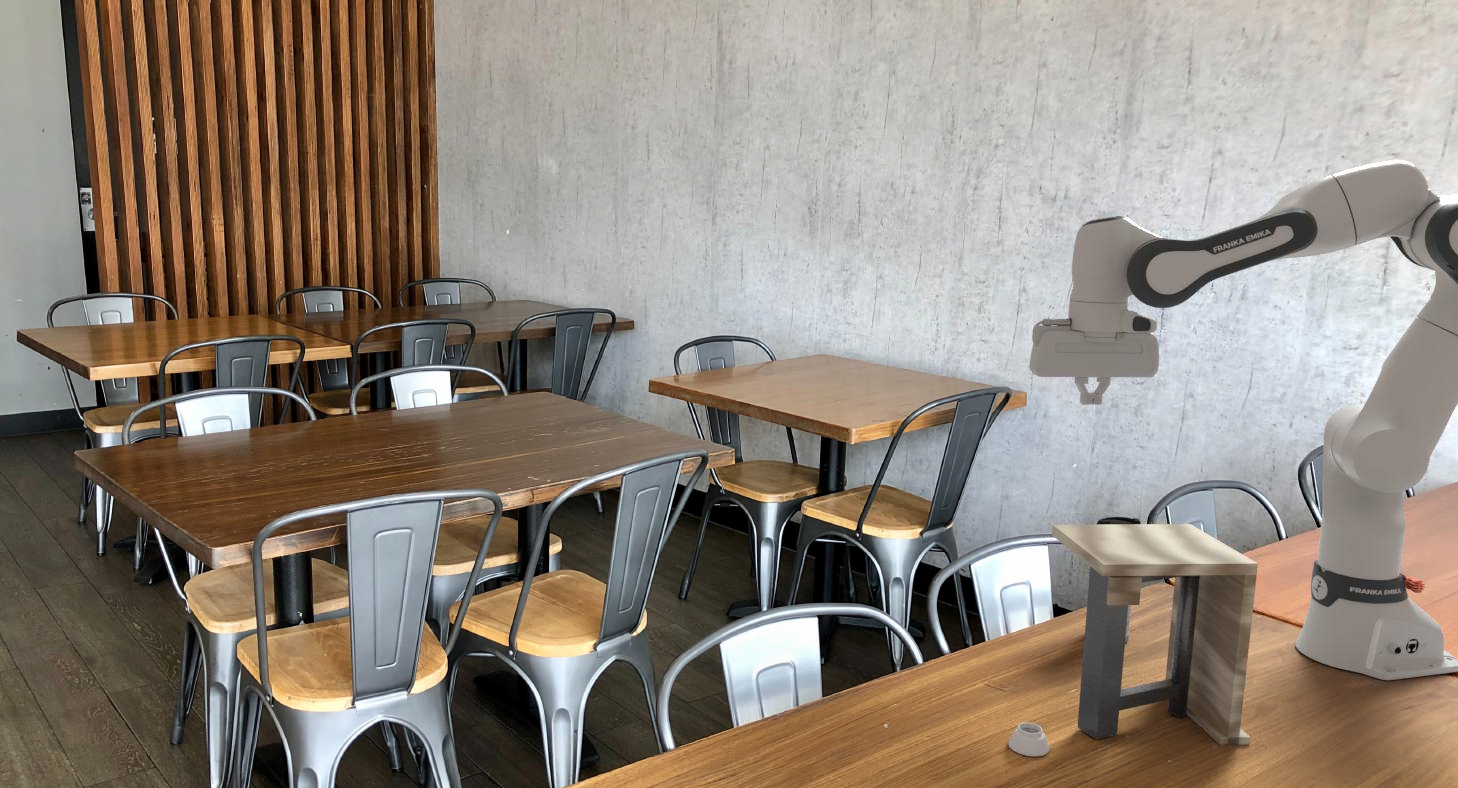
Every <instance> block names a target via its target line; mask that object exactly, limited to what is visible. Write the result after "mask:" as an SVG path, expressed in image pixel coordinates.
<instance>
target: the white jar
mask: <svg viewBox="0 0 1458 788" xmlns="http://www.w3.org/2000/svg"><path fill="white" fill-rule="evenodd" d="M1008 748H1010V749H1011V750H1012V751H1014V752H1016V753H1018V754H1020V755H1023V756H1026V757H1042V756H1045V755H1047V754H1048V753H1049V751H1050V749H1051V747H1050V743H1049V741H1048V739H1047V737H1046V734H1045V733H1044V731H1043V728H1042V727H1041V726H1040V725H1039V724H1037V723H1034V722H1026V721H1025V722H1021V723H1019V724H1018V725H1017V727H1016V728H1015V730H1014V731H1013V733H1012V734H1011V736H1010V737H1009V739H1008Z"/></svg>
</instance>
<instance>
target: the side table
mask: <svg viewBox="0 0 1458 788" xmlns="http://www.w3.org/2000/svg"><path fill="white" fill-rule="evenodd" d="M1051 528H1052V529H1051V536H1052V537H1054V538H1055V539H1056V540H1057V541H1058V542H1060V543H1061V544H1062V545H1064V546H1065V547H1066V548H1067V549H1069V550H1070V551H1071V552H1072V553H1073V554H1075V556H1077V557H1078V558H1080V560H1082V561H1083V562H1084V563H1086V564H1087V566H1089V567H1090V566H1091V567H1092V568H1093V569H1094V570H1096V571H1097V572H1098V573H1099V574H1101V575H1102V576H1109V579H1108V591H1107V603H1106V604H1107V605H1131V606H1140V602H1141V593H1142V592H1141V590H1142V583H1141V581H1142V577H1140V576H1184V575H1200V581H1199V591H1198V601H1197V611H1196V621H1195V632H1194V642H1193V652H1192V662H1191V673H1190V683H1189V693H1188V703H1187V714H1186V716H1188V717H1190V719H1191V720H1193V721H1194V723H1196V724H1197V725H1198V726H1199V727H1200V728H1201V727H1202V728H1203V729H1204V730H1203V731H1204V732H1206V733H1207V734H1208V733H1209V734H1208V735H1209V736H1210V738H1212V739H1213V740H1214V741H1215V742H1216V743H1217V744H1218V745H1220V746H1226V744H1227V746H1237V745H1238V746H1239V745H1240V746H1241V745H1250V744H1251V743H1250V742H1251V736H1249V734H1248V733H1246V732H1245V730H1244V729H1242V728H1241V724H1242V717H1243V716H1242V715H1243V705H1244V696H1245V687H1246V678H1247V677H1246V676H1247V668H1248V660H1249V652H1250V651H1249V650H1250V640H1251V633H1252V632H1251V631H1252V620H1253V614H1254V602H1255V592H1256V584H1257V576H1258V575H1257V574H1258V567H1259V563H1258V562H1256V561H1254V560H1253V559H1251V558H1249V557H1247V556H1246V555H1244V554H1243V553H1241V552H1239V551H1237V550H1236V549H1234V548H1233V547H1230V546H1229V545H1227V544H1225V543H1224V542H1221V541H1220V540H1218V539H1217V538H1215V537H1213V536H1212V535H1210V534H1209V533H1206V532H1204V531H1203V530H1202V529H1200V528H1198V527H1196V526H1194V525H1192V524H1191V523H1167V524H1166V523H1158V524H1157V523H1154V524H1153V523H1152V524H1151V523H1150V524H1149V523H1147V524H1146V523H1145V524H1144V523H1143V524H1142V523H1141V524H1106V525H1096V524H1052V525H1051ZM1179 584H1180V577H1174V586H1173V595H1172V607H1171V616H1170V618H1171V619H1170V628H1169V639H1168V646H1167V647H1168V648H1167V649H1168V650H1167V657H1166V658H1167V660H1166V672H1165V680H1168V679H1171V669H1172V658H1173V648H1174V637H1175V627H1176V616H1177V605H1178V595H1179ZM1163 680H1164V679H1163ZM1163 680H1161V681H1163ZM1202 728H1201V729H1202Z"/></svg>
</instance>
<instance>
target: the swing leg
mask: <svg viewBox="0 0 1458 788" xmlns="http://www.w3.org/2000/svg"><path fill="white" fill-rule="evenodd" d="M1140 577H1142V581H1141V584H1143V583H1149V582H1156V581H1161V580H1166V579H1167V580H1169V579H1173V578H1174V579H1175V577H1180V584H1179V595H1178V605H1177V616H1176V627H1175V637H1174V648H1173V658H1172V669H1171V679H1168V680H1166V679H1163V681H1162V680H1158V681H1155V682H1150V683H1145V684H1141V685H1136V686H1132V687H1126V688H1122V683H1123V682H1122V680H1123V671H1124V670H1123V669H1124V658H1125V649H1126V648H1125V646H1126V643H1125V636H1126V625H1127V613H1128V605H1107V604H1106V603H1107V591H1108V579H1109V576H1102V575H1101V574H1099V573H1098V572H1097V571H1096V570H1094V569H1093V568H1092V567H1091V566H1089V580H1088V590H1087V591H1088V592H1087V601H1086V603H1087V604H1086V615H1085V616H1086V617H1085V629H1084V640H1083V653H1082V666H1081V667H1082V668H1081V678H1080V691H1079V704H1078V714H1077V715H1078V716H1077V719H1078V720H1077V728H1078V729H1079V730H1081V731H1082V732H1084V733H1086V734H1087V735H1089V736H1090V737H1092V738H1093V739H1095V740H1099V739H1104V738H1108V737H1112V736H1117V735H1118V730H1119V729H1118V727H1119V715H1120V711H1124V710H1129V709H1133V708H1137V707H1143V706H1147V705H1151V704H1156V703H1161V702H1165V701H1168V703H1167V713H1168V714H1170V715H1172V716H1175V717H1186V716H1187V703H1188V693H1189V683H1190V673H1191V662H1192V652H1193V642H1194V632H1195V621H1196V611H1197V601H1198V591H1199V581H1200V575H1184V576H1140Z"/></svg>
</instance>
